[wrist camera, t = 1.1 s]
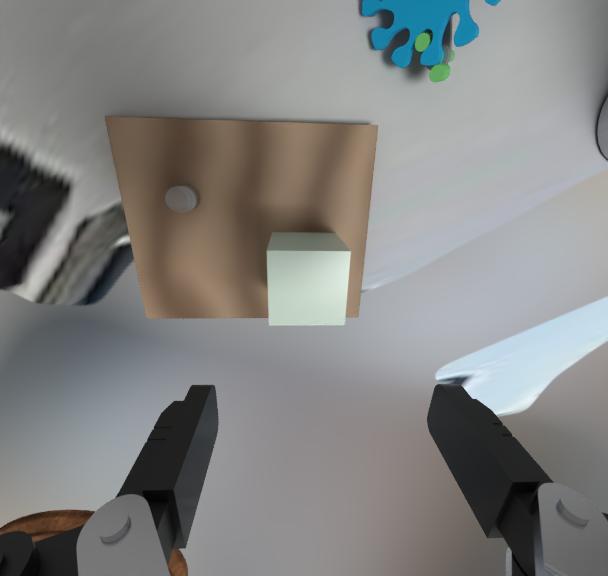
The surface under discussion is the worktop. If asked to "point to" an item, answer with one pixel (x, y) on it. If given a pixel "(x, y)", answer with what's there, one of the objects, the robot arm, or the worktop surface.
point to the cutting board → (66, 520)
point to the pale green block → (307, 278)
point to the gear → (425, 30)
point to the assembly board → (235, 205)
